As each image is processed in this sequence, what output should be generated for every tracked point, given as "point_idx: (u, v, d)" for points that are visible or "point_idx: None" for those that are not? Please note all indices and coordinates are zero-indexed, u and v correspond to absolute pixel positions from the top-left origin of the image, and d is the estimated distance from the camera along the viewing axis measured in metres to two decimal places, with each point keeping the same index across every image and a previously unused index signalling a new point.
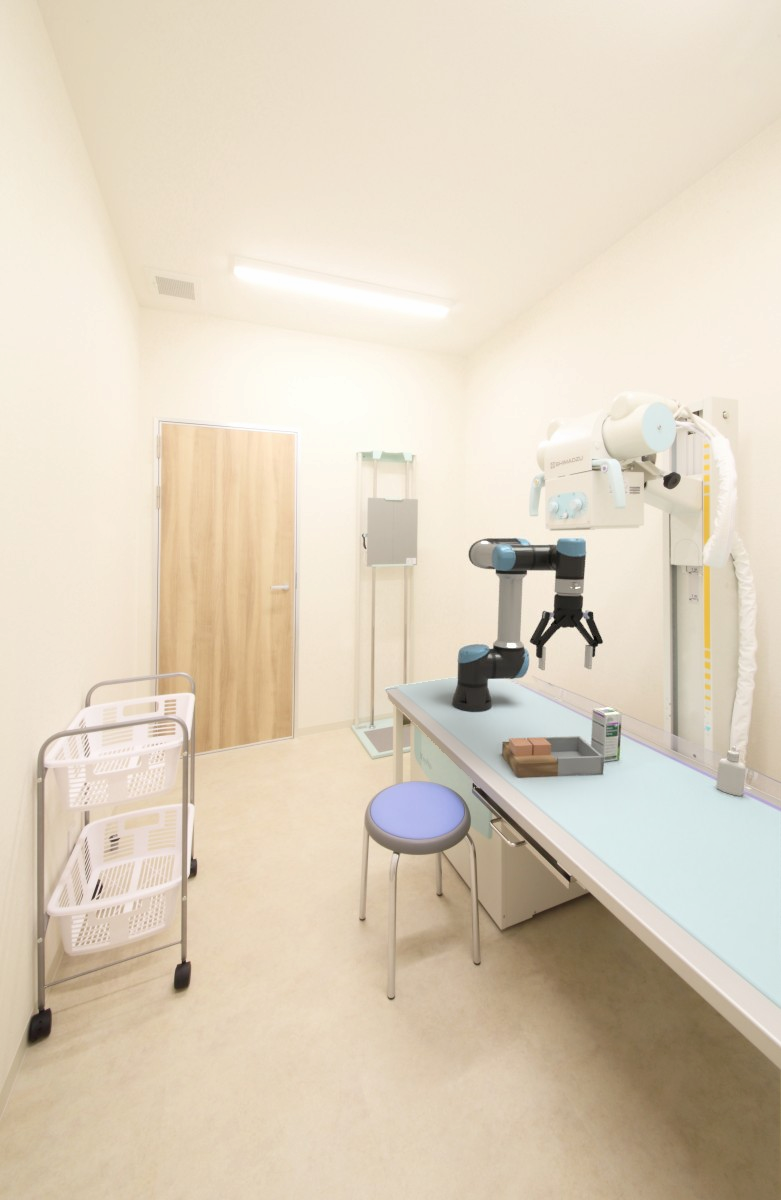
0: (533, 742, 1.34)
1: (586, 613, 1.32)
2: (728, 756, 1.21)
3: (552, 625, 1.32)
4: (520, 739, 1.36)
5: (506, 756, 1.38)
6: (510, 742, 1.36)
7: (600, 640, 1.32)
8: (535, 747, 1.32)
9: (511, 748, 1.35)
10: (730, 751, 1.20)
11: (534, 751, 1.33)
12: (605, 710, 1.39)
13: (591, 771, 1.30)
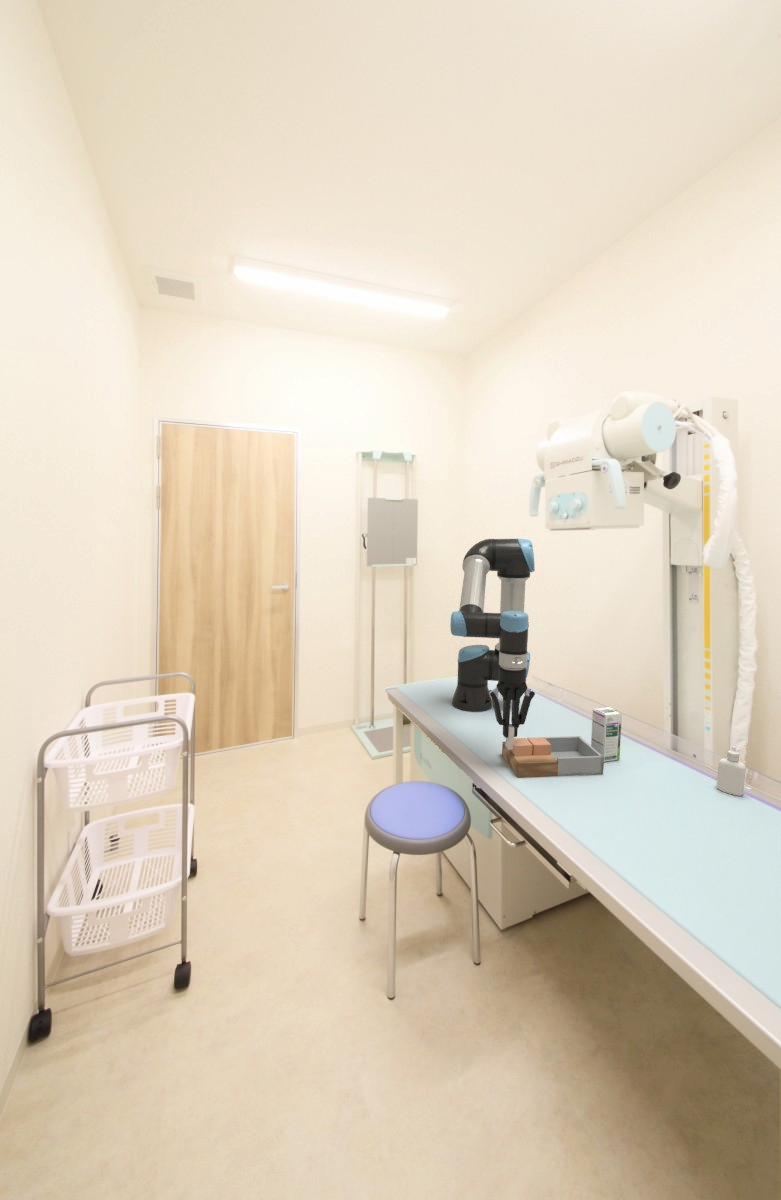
0: (533, 742, 1.34)
1: (529, 691, 1.32)
2: (728, 756, 1.21)
3: (504, 701, 1.33)
4: (520, 739, 1.36)
5: (506, 756, 1.38)
6: None
7: (523, 721, 1.32)
8: (535, 747, 1.32)
9: None
10: (730, 751, 1.20)
11: (534, 751, 1.33)
12: (605, 710, 1.39)
13: (591, 771, 1.30)
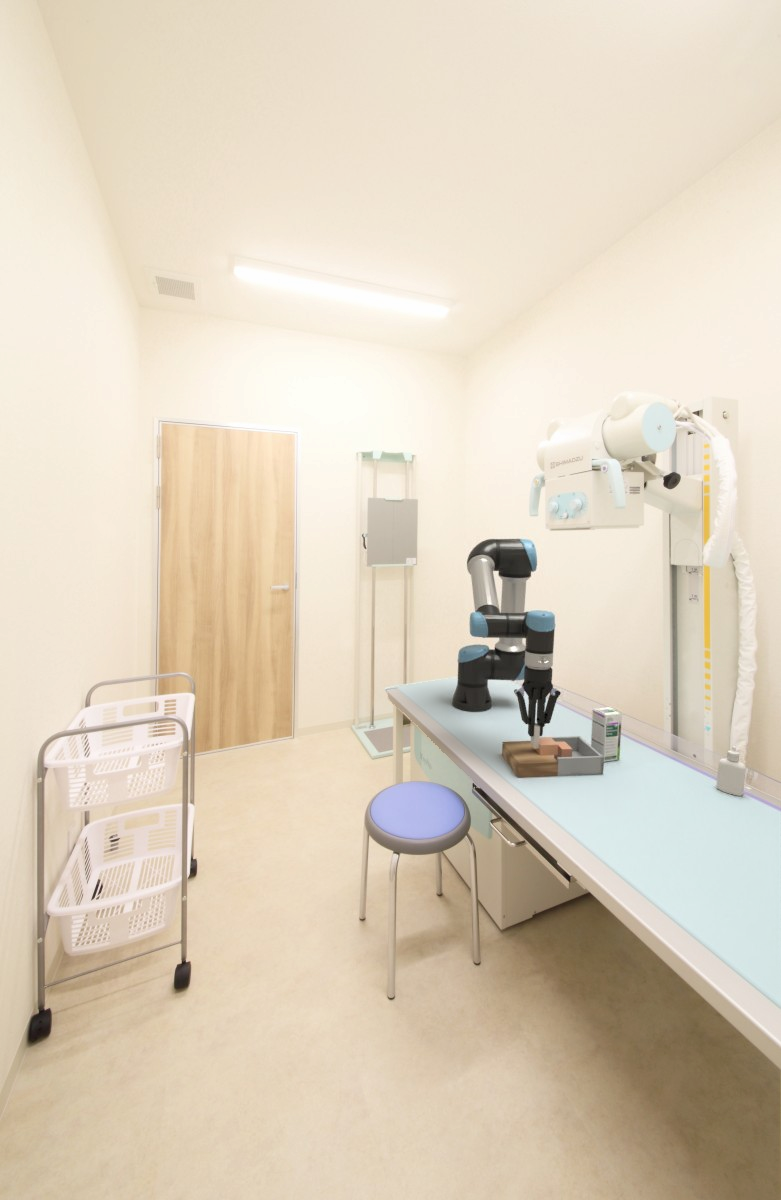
0: None
1: (554, 690, 1.33)
2: (728, 756, 1.21)
3: (529, 700, 1.33)
4: (545, 738, 1.37)
5: (506, 756, 1.38)
6: None
7: (548, 720, 1.33)
8: (570, 750, 1.33)
9: None
10: (730, 751, 1.20)
11: (565, 749, 1.33)
12: (605, 710, 1.39)
13: (591, 771, 1.30)
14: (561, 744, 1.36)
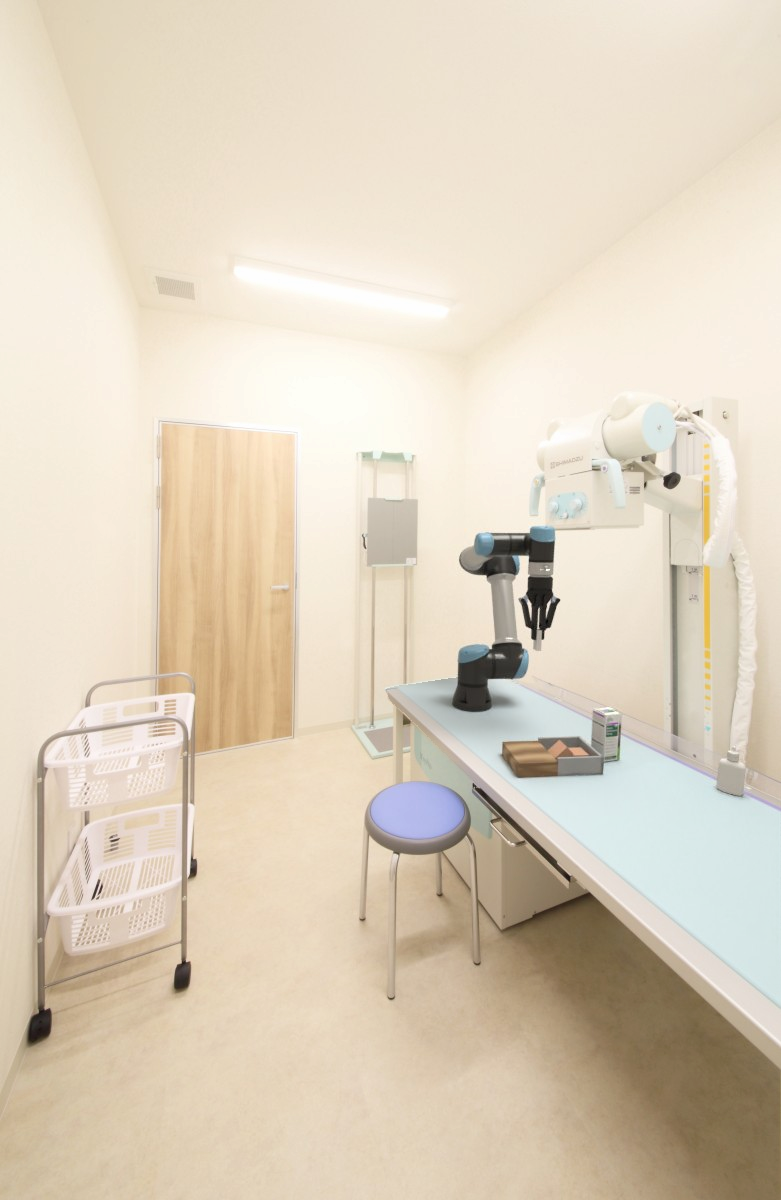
0: None
1: (555, 597, 1.48)
2: (728, 756, 1.21)
3: (532, 607, 1.49)
4: (555, 745, 1.37)
5: (506, 756, 1.38)
6: None
7: (549, 624, 1.48)
8: None
9: None
10: (730, 751, 1.20)
11: None
12: (605, 710, 1.39)
13: (591, 771, 1.30)
14: None
